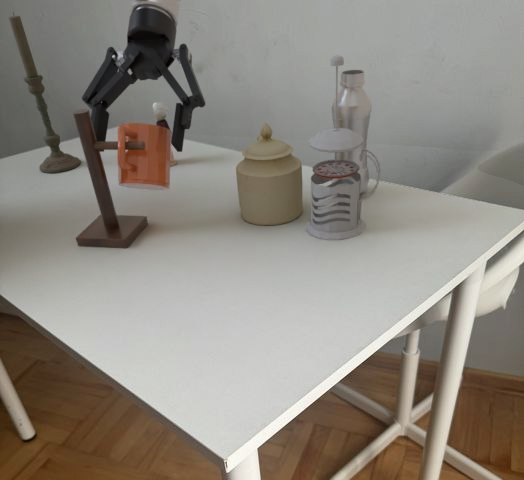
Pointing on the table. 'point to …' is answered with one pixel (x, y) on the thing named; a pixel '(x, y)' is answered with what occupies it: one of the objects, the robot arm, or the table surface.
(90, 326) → the table surface
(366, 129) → the silver metal bottle
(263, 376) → the table surface
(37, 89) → the candlestick holder
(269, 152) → the sugar bowl
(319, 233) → the french press
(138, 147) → the mug stand
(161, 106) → the grandmother figurine
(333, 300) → the table surface
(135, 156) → the mug
